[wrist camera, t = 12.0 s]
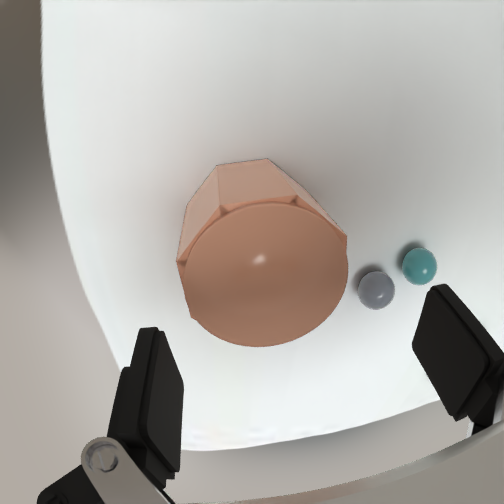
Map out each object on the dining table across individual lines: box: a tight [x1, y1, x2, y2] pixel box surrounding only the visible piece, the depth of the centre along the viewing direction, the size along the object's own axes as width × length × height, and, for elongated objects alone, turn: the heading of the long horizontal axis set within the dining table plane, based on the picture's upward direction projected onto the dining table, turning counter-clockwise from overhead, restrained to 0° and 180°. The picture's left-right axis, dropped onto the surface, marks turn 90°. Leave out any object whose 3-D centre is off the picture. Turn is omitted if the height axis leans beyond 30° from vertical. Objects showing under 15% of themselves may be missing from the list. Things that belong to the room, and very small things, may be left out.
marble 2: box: [402, 248, 437, 285], centre depth 23 cm, size 3×3×3 cm
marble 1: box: [358, 271, 395, 310], centre depth 23 cm, size 3×3×3 cm
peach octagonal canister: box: [176, 159, 348, 347], centre depth 17 cm, size 8×8×8 cm
